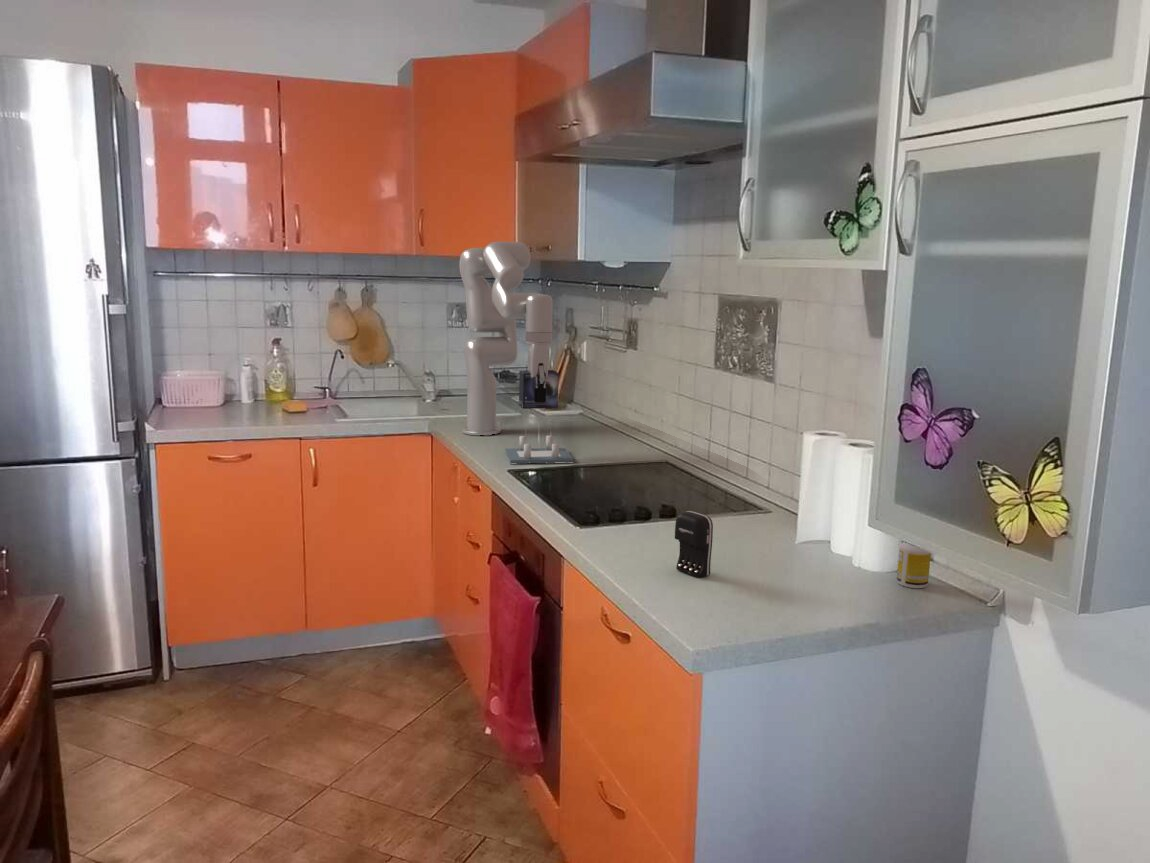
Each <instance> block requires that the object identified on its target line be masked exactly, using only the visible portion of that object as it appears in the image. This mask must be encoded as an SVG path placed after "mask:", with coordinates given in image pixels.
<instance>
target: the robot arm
mask: <svg viewBox="0 0 1150 863" xmlns="http://www.w3.org/2000/svg"><path fill="white" fill-rule="evenodd" d="M530 263H531V251H530V249H529V248H528V245H526V244H525V243H524V242H520V241H494V242H489V243H488V244H487V245H486V246H485V247H471V248H467V249H466V250H463V251H462V253H461V254H460V258H459V263H458V264H459V273H460V277H461V281H462V284H463V287H464V292H465V306H466V307H465V308H466V321H467V325H468V326H467V327H468V328H469V330H470V331H471V332H472V333H483V334H484V333H498V336H476V337H471V338H470V339H467V341H466V342H465V344H464V348H463V353H464V359H465V366H466V388H467V390H466V391H467V392H466V395H467V396H466V400H467V402H466V404H467V405H466V406H467V407H466V410H467V412H466V414H467V415H466V419H467V420H466V424H467V426H466V427H465V426H464V427H463V428H462V433H464V434H465V435H469V436H480V435H484V436H493V435H492V434H495V435H498V433H499V434H500V433H501V431H502V430H501V428H500V427H498V426H497V379H496V376H495V374H494V373H493V371H492V370H491V368H490V367H496V366H497V367H498V366H510V365H512V364H514V363H515V361H516V360H517V356H518V340H517V338H518V336H517V322H516V320H522V319H523V320H524V319H525V344H527V345H528V353H527V355H528V356H527V357H528V358H527V370H528V371H529V372H530V378H532V379H533V377H535V387H536V388H534V401H535V402H546V388H545V387H546V386H545V379H546V378H547V377H548V370H549V345H552V344H553V307H554V306H553V303H554V302H553V298H552V296H551V295H549V294H542V293H538V292H510V291H511V290H514V289H516V288H517V287H519V286H520V285H521V284H522V282H523V280H524V277H525V274H524V271H525V270H527V268H528V267H529V266H530ZM485 275H486V276H493V278H494V279H495V280H494V282H493V284H492V287H491V285H490V283H489V282H488V281H487V279H486V278H485V277H484V276H485ZM545 373H546V376H545ZM537 375H539V377H537ZM545 377H546V378H545Z"/></svg>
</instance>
